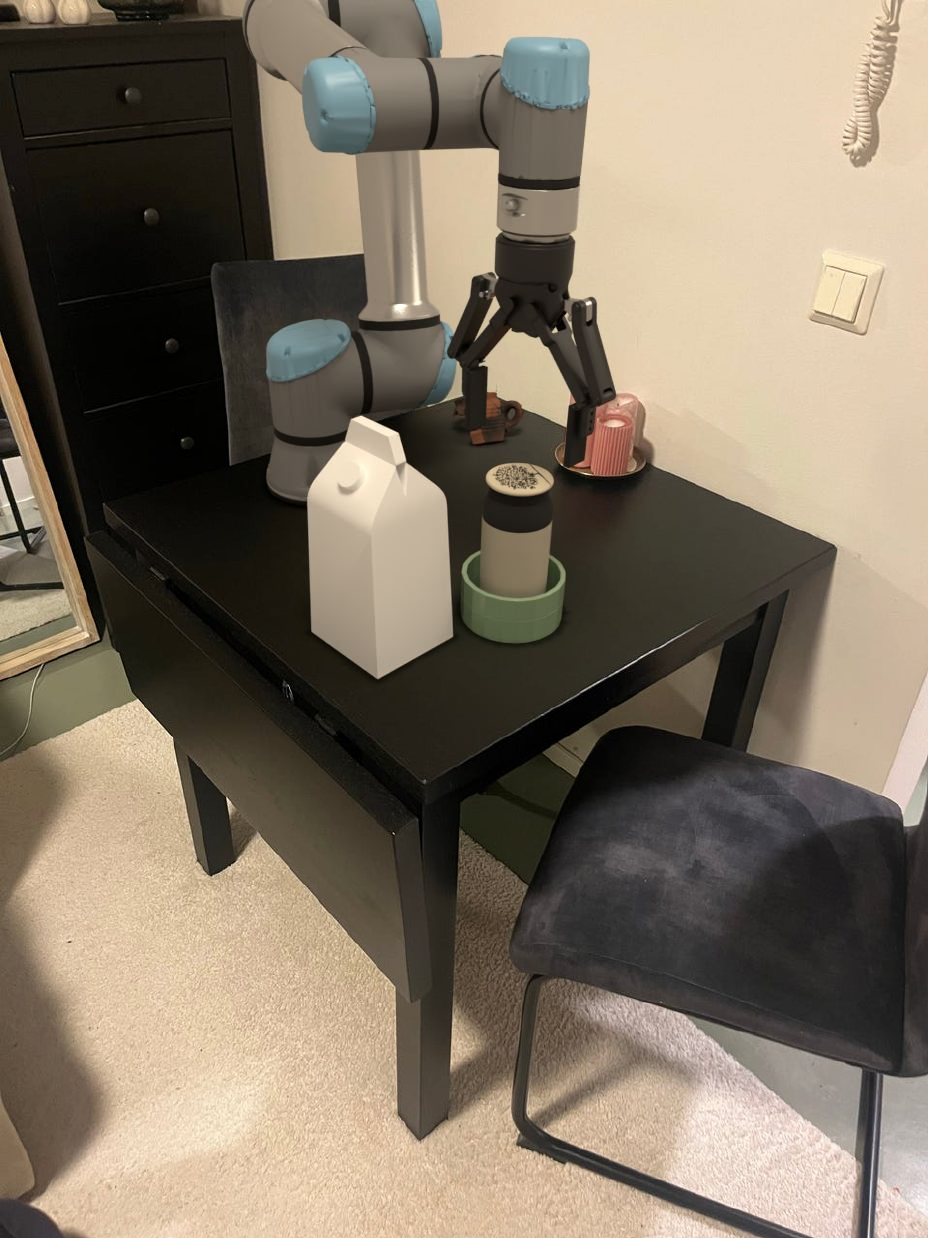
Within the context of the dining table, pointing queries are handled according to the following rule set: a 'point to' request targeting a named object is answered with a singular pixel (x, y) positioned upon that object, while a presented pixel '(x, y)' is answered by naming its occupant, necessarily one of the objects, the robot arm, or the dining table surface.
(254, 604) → the dining table surface
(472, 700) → the dining table surface
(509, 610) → the pot
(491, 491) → the travel mug
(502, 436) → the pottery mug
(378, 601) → the milk
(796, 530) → the dining table surface
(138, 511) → the dining table surface
